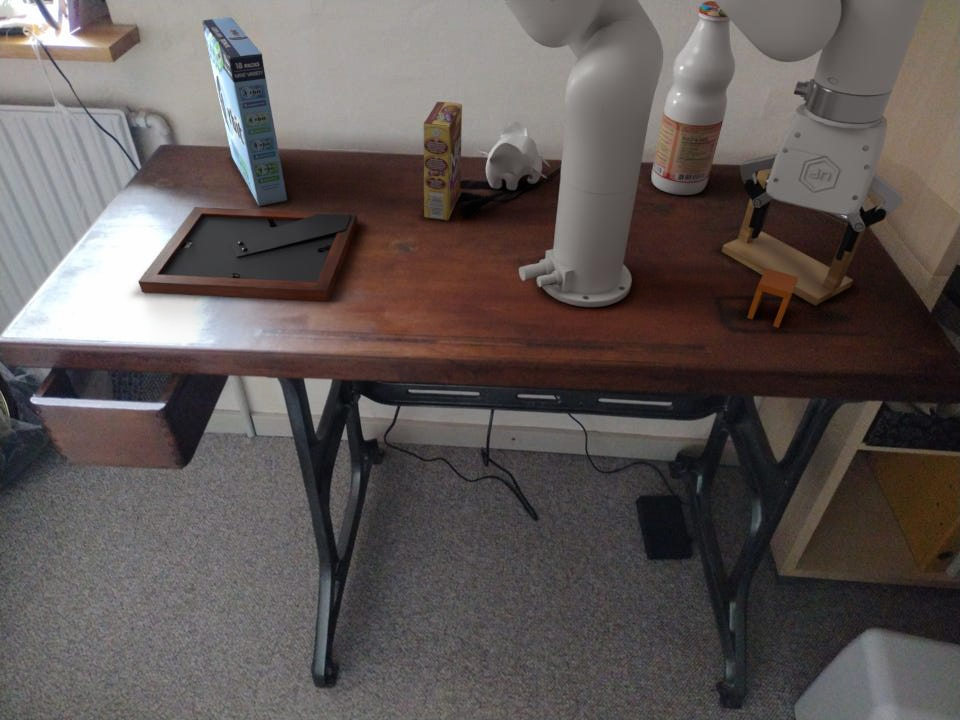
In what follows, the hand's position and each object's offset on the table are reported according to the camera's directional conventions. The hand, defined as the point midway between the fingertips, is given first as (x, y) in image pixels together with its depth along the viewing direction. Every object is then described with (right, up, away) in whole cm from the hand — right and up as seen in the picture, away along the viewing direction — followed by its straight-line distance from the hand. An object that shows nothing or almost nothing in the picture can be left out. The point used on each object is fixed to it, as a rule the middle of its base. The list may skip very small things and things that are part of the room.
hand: (797, 244), depth 82 cm
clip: (-1, -8, +7) cm, 11 cm away
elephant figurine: (-33, +16, +34) cm, 50 cm away
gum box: (-76, +17, +34) cm, 84 cm away
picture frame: (-70, +1, +16) cm, 72 cm away
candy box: (-44, +10, +28) cm, 53 cm away
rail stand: (+5, -1, +16) cm, 16 cm away
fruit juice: (-4, +16, +35) cm, 39 cm away
